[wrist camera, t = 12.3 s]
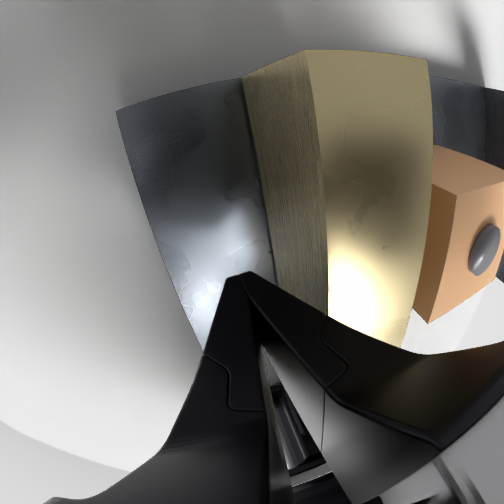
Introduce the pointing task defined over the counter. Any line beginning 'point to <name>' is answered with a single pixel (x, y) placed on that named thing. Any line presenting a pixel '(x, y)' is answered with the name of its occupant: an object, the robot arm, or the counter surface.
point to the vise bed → (248, 179)
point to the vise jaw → (346, 180)
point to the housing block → (460, 232)
